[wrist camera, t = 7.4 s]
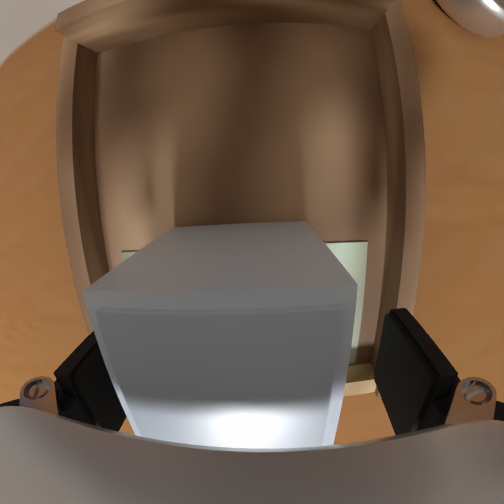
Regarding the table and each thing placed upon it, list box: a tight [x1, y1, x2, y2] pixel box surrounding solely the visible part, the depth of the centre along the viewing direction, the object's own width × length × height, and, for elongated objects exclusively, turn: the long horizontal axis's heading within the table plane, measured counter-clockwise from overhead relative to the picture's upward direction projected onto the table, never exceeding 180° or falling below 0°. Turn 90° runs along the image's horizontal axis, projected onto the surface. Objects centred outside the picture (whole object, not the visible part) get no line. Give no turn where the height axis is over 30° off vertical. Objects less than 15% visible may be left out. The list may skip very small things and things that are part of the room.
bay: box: [55, 0, 426, 397], centre depth 11 cm, size 16×20×5 cm
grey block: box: [83, 221, 358, 449], centre depth 10 cm, size 6×8×8 cm
